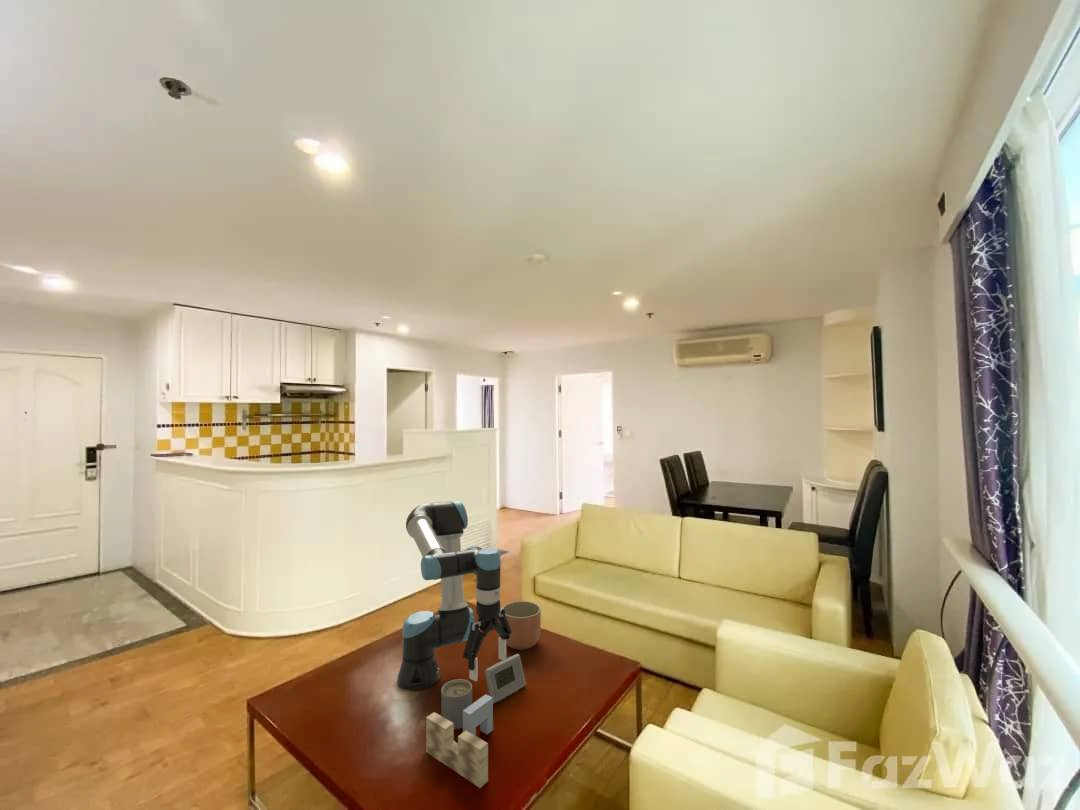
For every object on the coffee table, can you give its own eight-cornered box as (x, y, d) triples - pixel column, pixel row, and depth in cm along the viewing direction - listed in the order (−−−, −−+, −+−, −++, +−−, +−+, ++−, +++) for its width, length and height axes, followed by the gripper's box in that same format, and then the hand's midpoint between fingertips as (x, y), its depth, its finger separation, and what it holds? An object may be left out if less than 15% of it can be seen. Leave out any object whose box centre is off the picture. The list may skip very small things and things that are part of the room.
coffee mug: (474, 725, 144) (474, 693, 144) (442, 732, 141) (442, 699, 141) (468, 700, 157) (468, 671, 157) (439, 706, 154) (439, 676, 154)
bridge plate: (462, 744, 135) (462, 710, 136) (485, 726, 143) (485, 694, 144) (469, 748, 134) (469, 714, 134) (492, 730, 142) (492, 697, 142)
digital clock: (490, 707, 153) (490, 675, 153) (479, 693, 161) (479, 663, 161) (531, 691, 162) (530, 661, 162) (518, 679, 169) (518, 650, 170)
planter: (540, 654, 187) (540, 617, 187) (499, 654, 187) (499, 617, 187) (541, 635, 204) (541, 600, 204) (503, 634, 204) (503, 600, 204)
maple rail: (426, 751, 132) (426, 717, 133) (434, 745, 135) (434, 711, 135) (480, 788, 119) (480, 749, 120) (488, 780, 122) (487, 743, 122)
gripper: (469, 617, 129) (469, 693, 129) (521, 590, 150) (522, 654, 149) (450, 611, 133) (450, 684, 133) (504, 585, 154) (504, 648, 153)
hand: (488, 668), depth 141 cm, fingers open, 13 cm apart
